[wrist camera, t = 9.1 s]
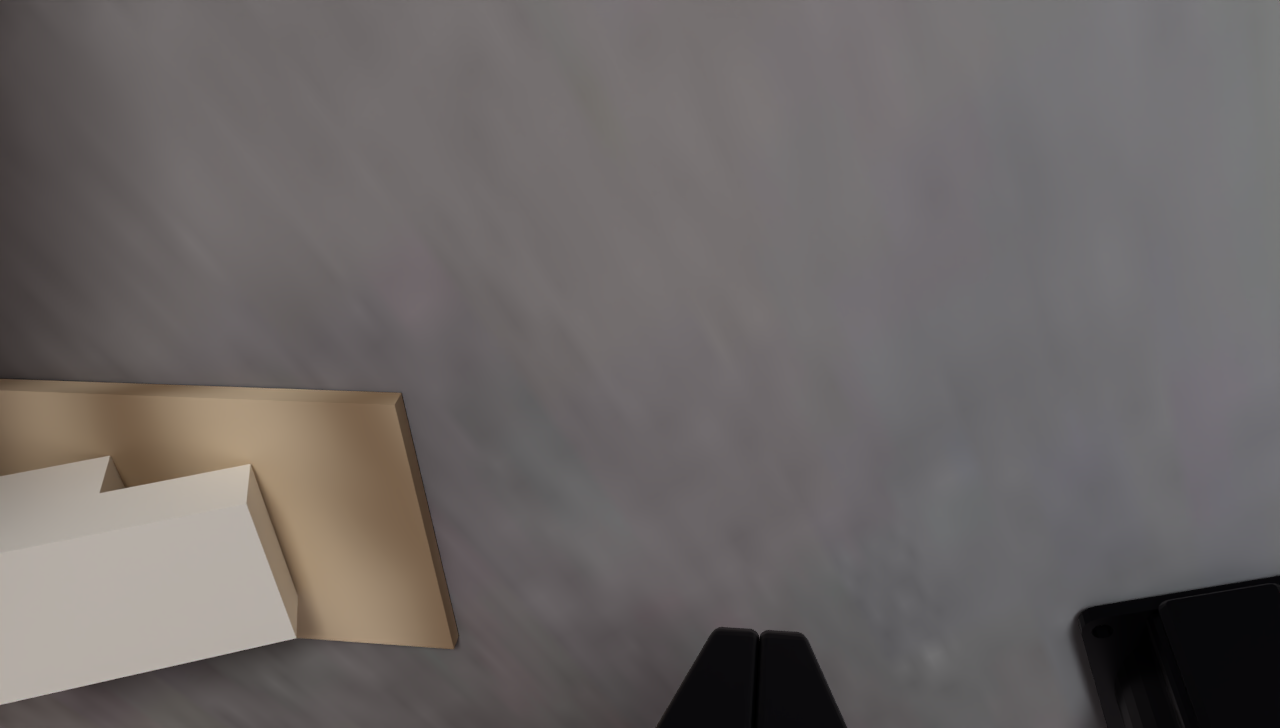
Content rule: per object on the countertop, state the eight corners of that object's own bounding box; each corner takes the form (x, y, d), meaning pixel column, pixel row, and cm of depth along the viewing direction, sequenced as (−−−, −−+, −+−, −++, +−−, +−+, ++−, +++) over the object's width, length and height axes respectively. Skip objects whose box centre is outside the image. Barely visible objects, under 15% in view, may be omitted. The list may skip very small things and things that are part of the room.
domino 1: (246, 503, 25) (-200, 593, 24) (296, 638, 28) (-99, 727, 26) (250, 463, 27) (-172, 546, 25) (297, 596, 29) (-79, 678, 28)
